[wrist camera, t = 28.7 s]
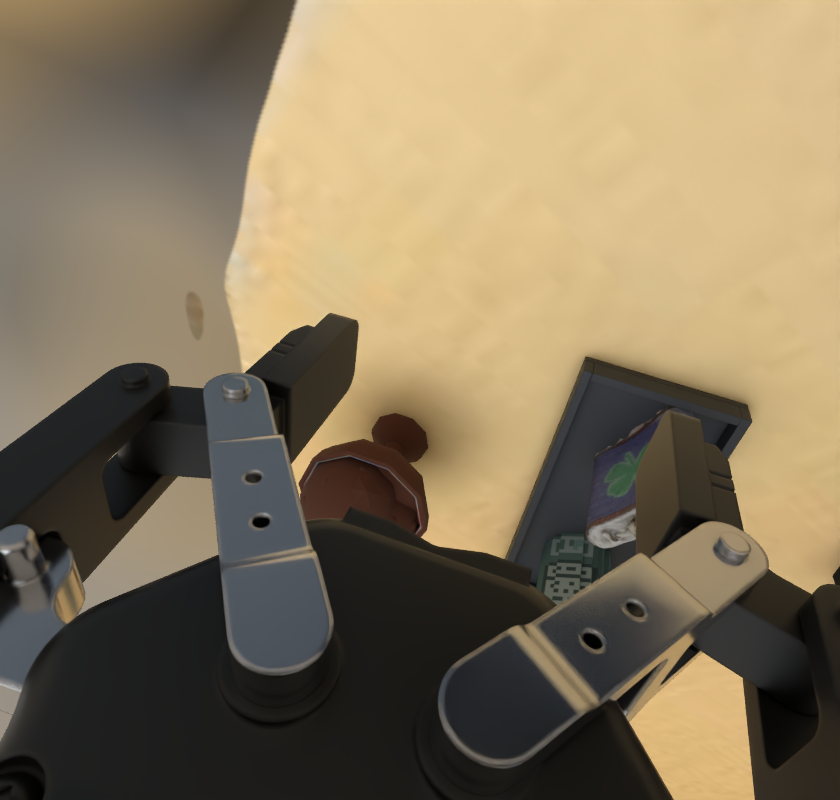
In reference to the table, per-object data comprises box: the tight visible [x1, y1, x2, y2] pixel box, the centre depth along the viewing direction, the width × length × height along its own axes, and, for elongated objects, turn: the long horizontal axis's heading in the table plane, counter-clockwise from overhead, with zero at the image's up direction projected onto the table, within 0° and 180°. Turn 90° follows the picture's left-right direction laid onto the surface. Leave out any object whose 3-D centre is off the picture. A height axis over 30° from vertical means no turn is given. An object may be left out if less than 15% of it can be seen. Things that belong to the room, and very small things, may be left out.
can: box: [536, 533, 612, 605], centre depth 48 cm, size 6×6×15 cm
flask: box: [585, 406, 695, 548], centre depth 41 cm, size 9×3×11 cm, turn 142°
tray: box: [505, 357, 752, 588], centre depth 49 cm, size 12×26×2 cm, turn 170°
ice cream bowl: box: [299, 413, 429, 537], centre depth 47 cm, size 11×11×15 cm
